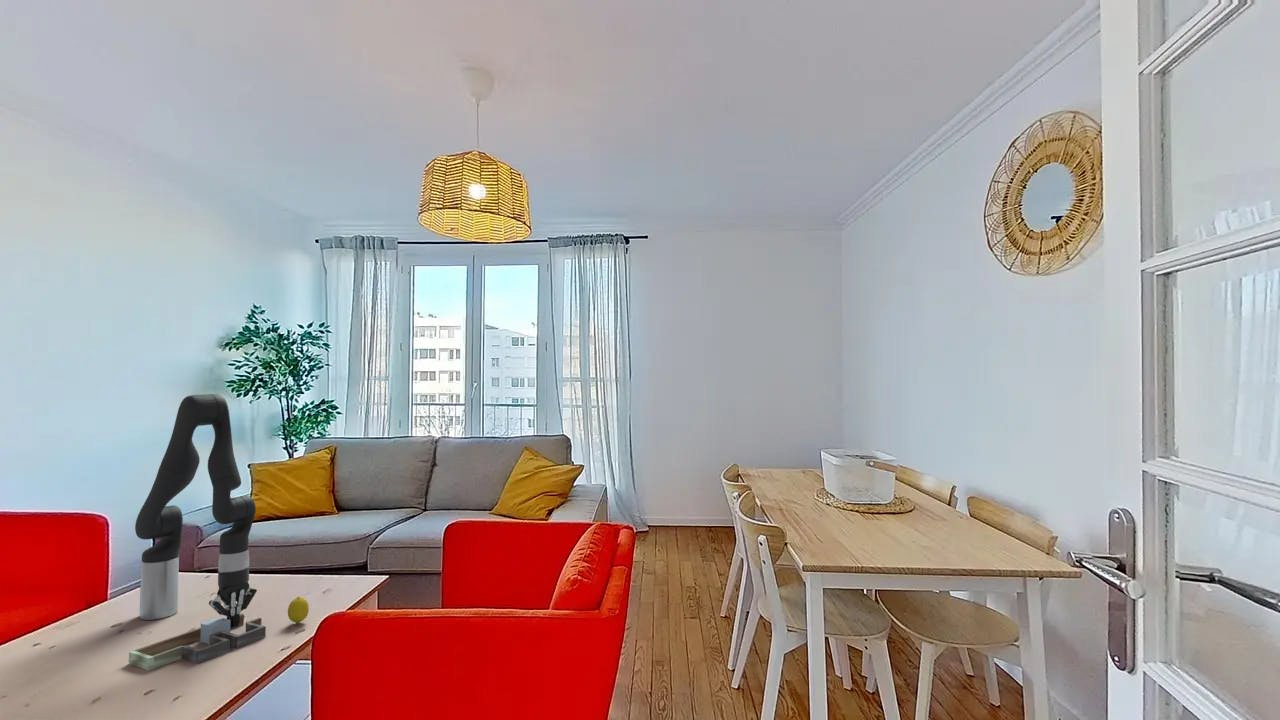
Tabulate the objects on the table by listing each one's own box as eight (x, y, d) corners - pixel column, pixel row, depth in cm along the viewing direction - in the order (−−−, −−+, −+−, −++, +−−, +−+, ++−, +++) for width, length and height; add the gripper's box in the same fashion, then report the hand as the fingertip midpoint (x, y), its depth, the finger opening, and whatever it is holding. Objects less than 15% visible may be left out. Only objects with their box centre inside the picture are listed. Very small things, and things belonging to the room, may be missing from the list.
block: (200, 641, 173) (200, 623, 173) (218, 634, 177) (219, 617, 177) (211, 644, 171) (212, 626, 171) (230, 637, 175) (230, 619, 175)
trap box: (128, 663, 159) (129, 652, 159) (241, 623, 186) (241, 613, 186) (165, 676, 153) (166, 663, 153) (277, 632, 179) (277, 622, 179)
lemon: (299, 628, 182) (299, 600, 183) (283, 626, 183) (283, 599, 184) (312, 620, 188) (313, 594, 188) (296, 619, 189) (297, 592, 189)
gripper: (247, 559, 187) (246, 617, 186) (201, 571, 175) (200, 634, 174) (264, 562, 184) (263, 621, 183) (218, 575, 172) (217, 638, 171)
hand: (232, 627), depth 179 cm, fingers closed
